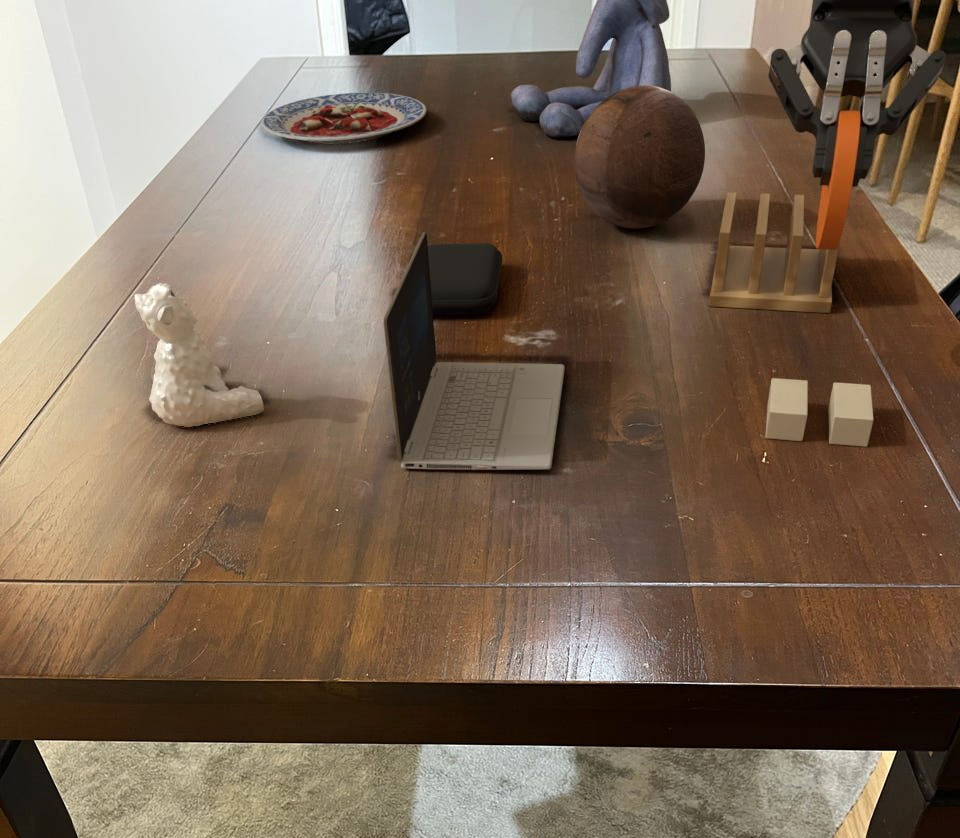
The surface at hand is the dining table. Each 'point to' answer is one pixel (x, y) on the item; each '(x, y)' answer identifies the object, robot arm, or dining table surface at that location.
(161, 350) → the white creature statuette
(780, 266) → the rack
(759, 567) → the dining table surface
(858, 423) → the cubes
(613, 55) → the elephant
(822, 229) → the disc
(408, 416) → the laptop
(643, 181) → the wooden sphere
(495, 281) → the carrying case
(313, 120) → the ceramic plate
